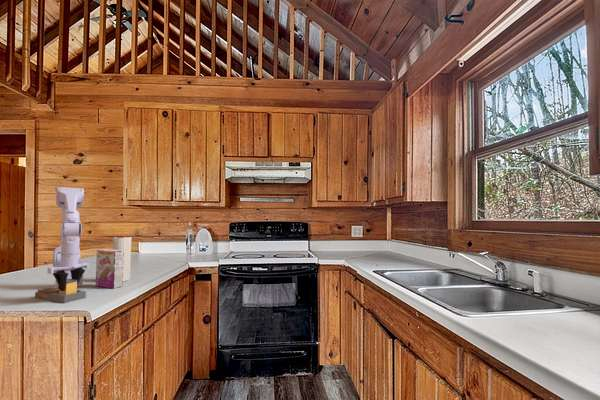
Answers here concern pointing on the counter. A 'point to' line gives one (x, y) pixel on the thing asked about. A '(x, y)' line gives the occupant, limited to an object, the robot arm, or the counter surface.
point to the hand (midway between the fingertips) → (68, 289)
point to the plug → (70, 287)
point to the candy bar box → (109, 268)
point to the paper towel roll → (125, 246)
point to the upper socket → (46, 292)
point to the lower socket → (67, 296)
